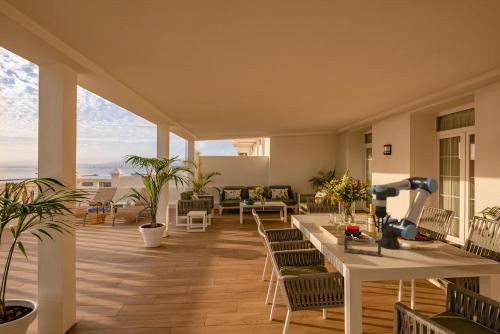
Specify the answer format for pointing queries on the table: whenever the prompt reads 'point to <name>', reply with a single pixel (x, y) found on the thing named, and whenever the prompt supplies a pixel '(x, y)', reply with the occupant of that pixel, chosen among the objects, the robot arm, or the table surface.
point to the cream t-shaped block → (372, 239)
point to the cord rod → (358, 239)
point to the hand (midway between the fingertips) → (380, 236)
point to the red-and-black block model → (353, 231)
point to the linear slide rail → (362, 252)
